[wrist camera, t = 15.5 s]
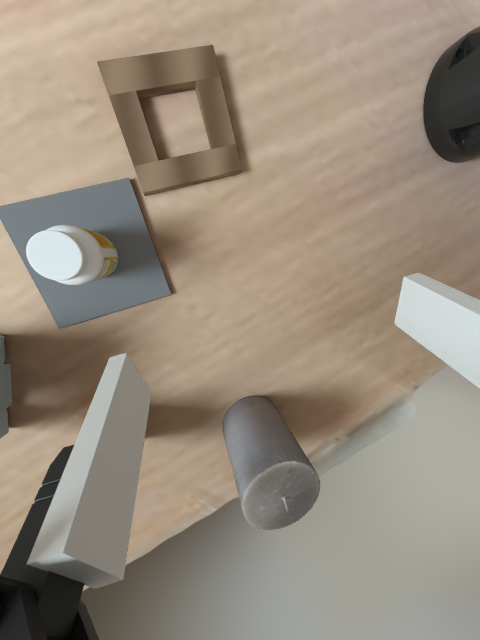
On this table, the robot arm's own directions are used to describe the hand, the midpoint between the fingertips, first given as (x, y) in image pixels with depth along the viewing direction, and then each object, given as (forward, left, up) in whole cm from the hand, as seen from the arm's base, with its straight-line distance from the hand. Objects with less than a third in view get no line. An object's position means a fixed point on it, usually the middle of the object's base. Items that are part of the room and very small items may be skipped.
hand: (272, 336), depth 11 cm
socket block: (-2, -18, -23) cm, 30 cm away
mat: (+12, -7, -23) cm, 27 cm away
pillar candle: (0, +24, -23) cm, 33 cm away
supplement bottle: (+12, -7, -23) cm, 27 cm away
